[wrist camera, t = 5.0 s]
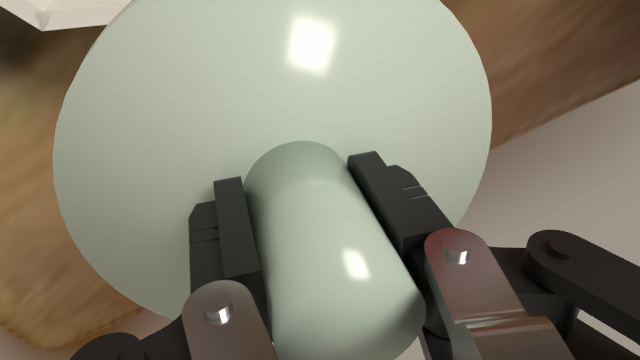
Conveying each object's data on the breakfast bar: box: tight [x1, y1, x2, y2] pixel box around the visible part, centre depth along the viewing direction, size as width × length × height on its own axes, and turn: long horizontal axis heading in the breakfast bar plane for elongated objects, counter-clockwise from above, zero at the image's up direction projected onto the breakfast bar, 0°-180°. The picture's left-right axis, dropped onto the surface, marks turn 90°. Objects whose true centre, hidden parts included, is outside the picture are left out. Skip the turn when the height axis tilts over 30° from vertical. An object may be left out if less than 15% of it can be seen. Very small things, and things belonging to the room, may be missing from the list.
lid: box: [52, 0, 492, 360], centre depth 11 cm, size 12×12×6 cm
